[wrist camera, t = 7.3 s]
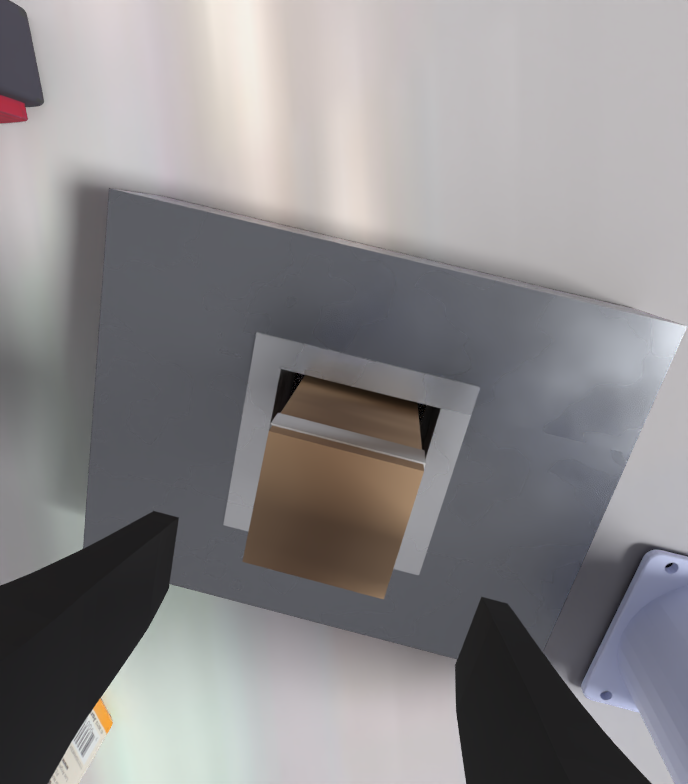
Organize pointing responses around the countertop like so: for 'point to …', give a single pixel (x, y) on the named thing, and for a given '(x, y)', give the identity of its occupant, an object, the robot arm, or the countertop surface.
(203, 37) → the countertop surface
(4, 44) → the black rectangular box
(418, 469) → the key peg
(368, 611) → the grey peg hole board
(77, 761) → the supplement box
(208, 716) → the countertop surface
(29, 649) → the robot arm
